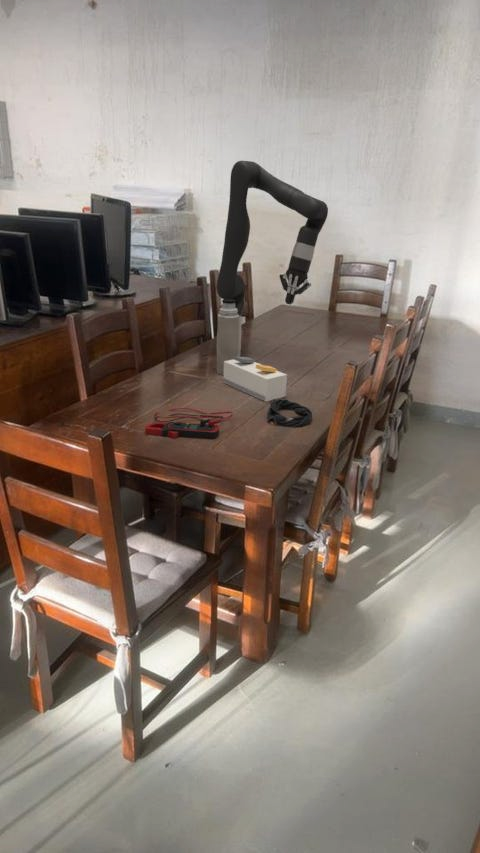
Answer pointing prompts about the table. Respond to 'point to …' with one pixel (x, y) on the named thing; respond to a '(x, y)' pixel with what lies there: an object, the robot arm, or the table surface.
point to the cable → (286, 404)
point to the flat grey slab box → (244, 359)
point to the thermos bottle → (227, 334)
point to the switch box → (255, 380)
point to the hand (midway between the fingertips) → (288, 303)
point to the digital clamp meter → (187, 426)
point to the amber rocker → (266, 368)
